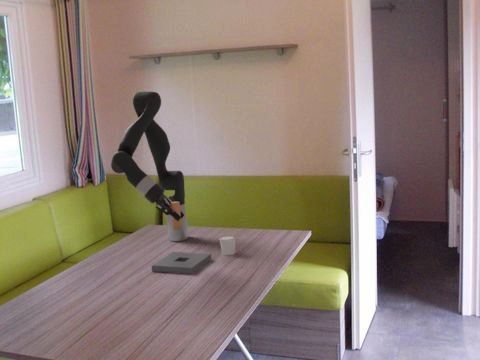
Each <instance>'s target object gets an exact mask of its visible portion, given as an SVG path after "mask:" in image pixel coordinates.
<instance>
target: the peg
mask: <svg viewBox="0 0 480 360" xmlns="http://www.w3.org/2000/svg"><path fill="white" fill-rule="evenodd" d="M171 207H172V209H173V210H174V211H175V212H176V213H178V214H179V215H180V216H181V213H180V202H171ZM172 224H173V230H180V229H182V224H181V219H180V220H179V221H177V220H176V219H174V218H173V217H172Z"/></svg>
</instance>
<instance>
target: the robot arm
mask: <svg viewBox="0 0 480 360" xmlns="http://www.w3.org/2000/svg"><path fill="white" fill-rule="evenodd" d="M132 104H133V108H134V111H135V113H136V117H137V119H136V120H135V121H134V122H133V123H131V124H130V125H129V126H128V127H127V128H126V130H125V132H124V133H123V135H122V137H121V139H120V142H119V146H118V148H117V150H116V152H115V153H114V154H113V156H112V159H111V163H110V167H111V169H112V171H113V172H114V173H115V174H125V176H126V179H127V181H128V183H130V184H131V185H132V186H133V187H134V188H135V189H136V190H137V191H138V192H139V193H140V194H141V196H143V197H144V198H145V199H146V200H147V201H148V202H149V203H151V204H156V206H155V208H156V209H157V210H159V211H160V212H161V213H163V214H165V215H166V223H167V233H168V234H167V235H168V240H169V241H171V242H182V241H185V240H187V239H188V238H189V230H188V219H187V213H186V212H187V211H186V203H185V202H186V201H185V199H186V197H185V195H186V193H185V177H184V173H183V172H182V171H181V170H168V169H167V166H166V162H167V158H168V157H169V154H170V150H171V145H170V141H169V138H168V135H167V133H166V131H165V130H164V129H163V128H162V127H161V125H159V124H158V123H157V122H156V121H155V117H156V116H157V114H158V112H159V111H160V108H161V106H162V98H161V96H160V94H159V93H158V92H157V91H137V92H135V93H134V94H133V96H132ZM143 135H145V138H146V142H147V144H148V147H149V148H148V149H149V150H150V153H151V155H152V159H153V162H154V165H155V169H156V174H157V178H158V182H159V184H158V183H157V182H156V180H154V178H152V177H150V176H149V175H148V174H147V173H146V172H145V171H143V169H142V168H140V166H139V165H138V163H136V161H135V160H134V159H133V156H134V154H135V152H136V150H137V147H138V145H139V143H140V141H141V139H142V138H143ZM165 191H174V194H173V195H170V196H167V195H165V194H164V193H165ZM171 202H180V213H181V216H180V215H179V214H178V213H176V212H175V211H174V210H173V209H172V207H171ZM172 217H173V218H174V219H176V220H177V221H179V220H180V219H181V224H182V229H180V230H173V224H172Z"/></svg>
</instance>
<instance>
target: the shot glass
mask: <svg viewBox="0 0 480 360" xmlns="http://www.w3.org/2000/svg"><path fill="white" fill-rule="evenodd" d="M219 244H220V249H221V254H222V256H225V257H226V256H227V257H228V256H234V255H235V254H236V237H235V236H232V235H224V236H221V237H219Z"/></svg>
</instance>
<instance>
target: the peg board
mask: <svg viewBox="0 0 480 360" xmlns="http://www.w3.org/2000/svg"><path fill="white" fill-rule="evenodd" d="M210 261H212V253H204V252H182V251H181V252H180V251H172V252H170V253H169V254H167V255H165V256H164V257H163V258H161V259H159V260H158V261H157V262H155V263H153V264H152V265H151V271H152V272H156V273H173V274H185V275H187V274H188V275H193V274H194V273H196V272H197V271H198V270H200V269H201V268H202V267H203V266H205V265H206V264H208V263H209V262H210Z"/></svg>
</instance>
